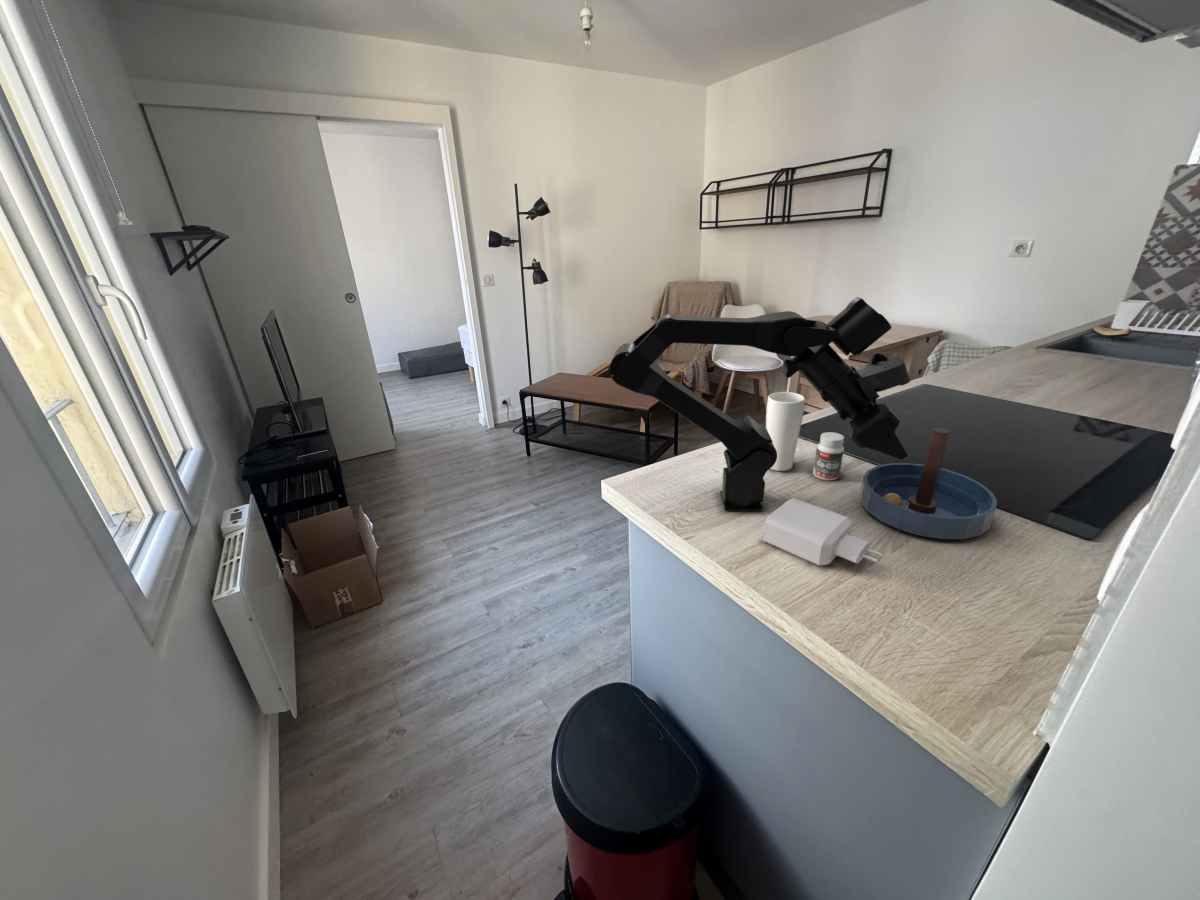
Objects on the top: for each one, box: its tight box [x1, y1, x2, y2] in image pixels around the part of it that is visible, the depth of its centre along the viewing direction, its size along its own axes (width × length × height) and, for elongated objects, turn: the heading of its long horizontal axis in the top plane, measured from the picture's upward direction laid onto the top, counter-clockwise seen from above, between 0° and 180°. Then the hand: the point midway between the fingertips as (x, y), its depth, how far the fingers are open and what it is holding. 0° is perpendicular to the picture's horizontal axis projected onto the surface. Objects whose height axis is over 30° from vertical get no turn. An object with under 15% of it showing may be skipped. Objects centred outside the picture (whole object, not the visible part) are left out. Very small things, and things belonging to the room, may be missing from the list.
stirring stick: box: [907, 427, 951, 513], centre depth 75 cm, size 4×4×14 cm
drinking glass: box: [765, 391, 806, 472], centre depth 93 cm, size 7×7×15 cm
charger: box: [763, 497, 883, 566], centre depth 70 cm, size 5×9×15 cm
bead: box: [883, 493, 903, 507], centre depth 78 cm, size 3×3×3 cm
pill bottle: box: [812, 431, 845, 481], centre depth 90 cm, size 5×5×8 cm
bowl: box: [859, 462, 998, 540], centre depth 78 cm, size 18×18×4 cm
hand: (895, 444), depth 75 cm, fingers open, 9 cm apart
